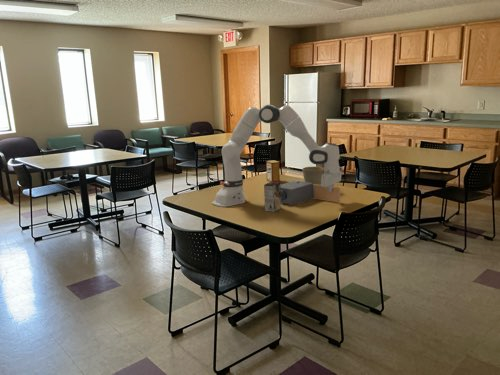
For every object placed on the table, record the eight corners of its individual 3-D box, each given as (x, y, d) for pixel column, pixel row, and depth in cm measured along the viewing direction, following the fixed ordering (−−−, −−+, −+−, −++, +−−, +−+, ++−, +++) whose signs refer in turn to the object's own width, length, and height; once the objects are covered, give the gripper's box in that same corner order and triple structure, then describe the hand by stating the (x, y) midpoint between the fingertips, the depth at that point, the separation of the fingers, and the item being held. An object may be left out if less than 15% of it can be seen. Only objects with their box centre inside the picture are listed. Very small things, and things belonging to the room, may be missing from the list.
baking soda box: (279, 181, 318) (279, 161, 314) (272, 182, 315) (271, 162, 312) (273, 179, 326) (273, 159, 323) (266, 180, 324) (266, 160, 320)
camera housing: (289, 205, 250) (289, 188, 248) (272, 202, 260) (272, 185, 257) (313, 197, 266) (313, 181, 264) (296, 194, 276) (296, 179, 274)
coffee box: (272, 206, 249) (271, 181, 246) (281, 208, 246) (280, 182, 242) (264, 210, 242) (263, 184, 238) (274, 212, 239) (273, 185, 235)
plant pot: (310, 187, 296) (310, 165, 292) (328, 190, 286) (328, 167, 282) (298, 191, 286) (297, 168, 282) (315, 194, 275) (315, 171, 272)
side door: (340, 201, 254) (341, 187, 251) (339, 202, 252) (339, 188, 250) (314, 197, 267) (314, 183, 264) (312, 197, 265) (312, 184, 263)
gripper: (328, 172, 240) (327, 195, 243) (343, 167, 255) (342, 188, 259) (318, 171, 244) (318, 194, 247) (334, 166, 259) (333, 187, 262)
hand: (331, 191), depth 253 cm, fingers closed
